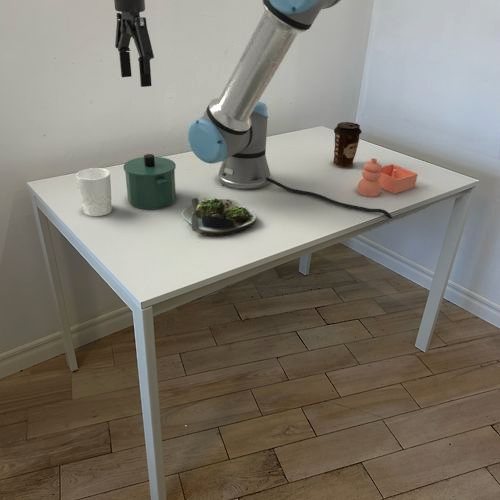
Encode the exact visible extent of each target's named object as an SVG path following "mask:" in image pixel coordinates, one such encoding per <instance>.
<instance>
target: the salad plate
mask: <svg viewBox="0 0 500 500" xmlns="http://www.w3.org/2000/svg"><path fill="white" fill-rule="evenodd" d="M181 216H182V217H183V219H184V220H185V221H186V222H187V223H188V224H189V225H190V226H191V230H192V231H194V232H195V233H200V234H201V235H204V236H207V237H216V238H217V237H226V236H230V235H234V234H240V233H243V232H245V231H247V230H249V229H250V228H252V227H253V226H254V225H255V224H256V222H257V214H256V213H255V212H254V211H253V210H251V209H249V208H248V207H246V206H244V205H243V204H242V203H240V202H238V201H237V200H234V199H228V198H219V199H218V198H211V199H206V198H205V197H204V198H202V200H201V202H200V200H199V198H197V197H193V198H191V205H189V206H187V207H185V208H183V210H182V211H181Z"/></svg>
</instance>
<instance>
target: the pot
mask: <svg viewBox="0 0 500 500" xmlns="http://www.w3.org/2000/svg"><path fill="white" fill-rule="evenodd" d="M124 173H125V183H126V184H125V185H126V193H127V201H128V204H129V205H130V206H132V207H134V208H136V209H139V210H140V209H141V210H159V209H164V208H167V207H169V206H171V205H173V204H175V202H176V199H177V196H176V195H177V194H176V177H175V176H176V175H175V174H176V173H175V170H174V171H173V172H171V173H169V174H166V175H162V176H157V177H139V176H133V175H130V174H128V173H126V172H125V171H124Z"/></svg>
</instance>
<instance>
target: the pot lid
mask: <svg viewBox="0 0 500 500" xmlns="http://www.w3.org/2000/svg"><path fill="white" fill-rule="evenodd" d="M176 167H177V165H176V163H175V161H174V160H172V159H169V158H166V157H162V156H155V154H152V153H147V154H143V157H142V156H141V157H136V158H132V159H129V160H128V161H126V162H125V163H124V164H123V171H124V173H125V172H126V173H128V174H130V175H133V176H139V177H157V176H162V175H166V174H169V173H171V172H173V171H174V172H175V170H176V169H177V168H176Z"/></svg>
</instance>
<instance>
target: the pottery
mask: <svg viewBox="0 0 500 500" xmlns="http://www.w3.org/2000/svg"><path fill="white" fill-rule="evenodd" d="M418 174H419V173H417V172H415V171H412V170H409V169H406V168H404V167H401V166H399V165H396V164H394V163H390V164H386V165H383V166H382V165H381V163H379V162H378V159H377V158H370V161H367V162H365V163H364V165H363V170H362V172H361V176H362V178H361V179H360V180H359V181H358V183H357V193H359V195H361V196H365V197H371V198H372V197H378V196H379V195H380V193H381V191H382V189H383V190H385V191H387V192H389V193H392V194H394V195H395V194H399V193H401V192H404V191H407V190H411V189H414V188H416V184H417V179H418Z"/></svg>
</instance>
